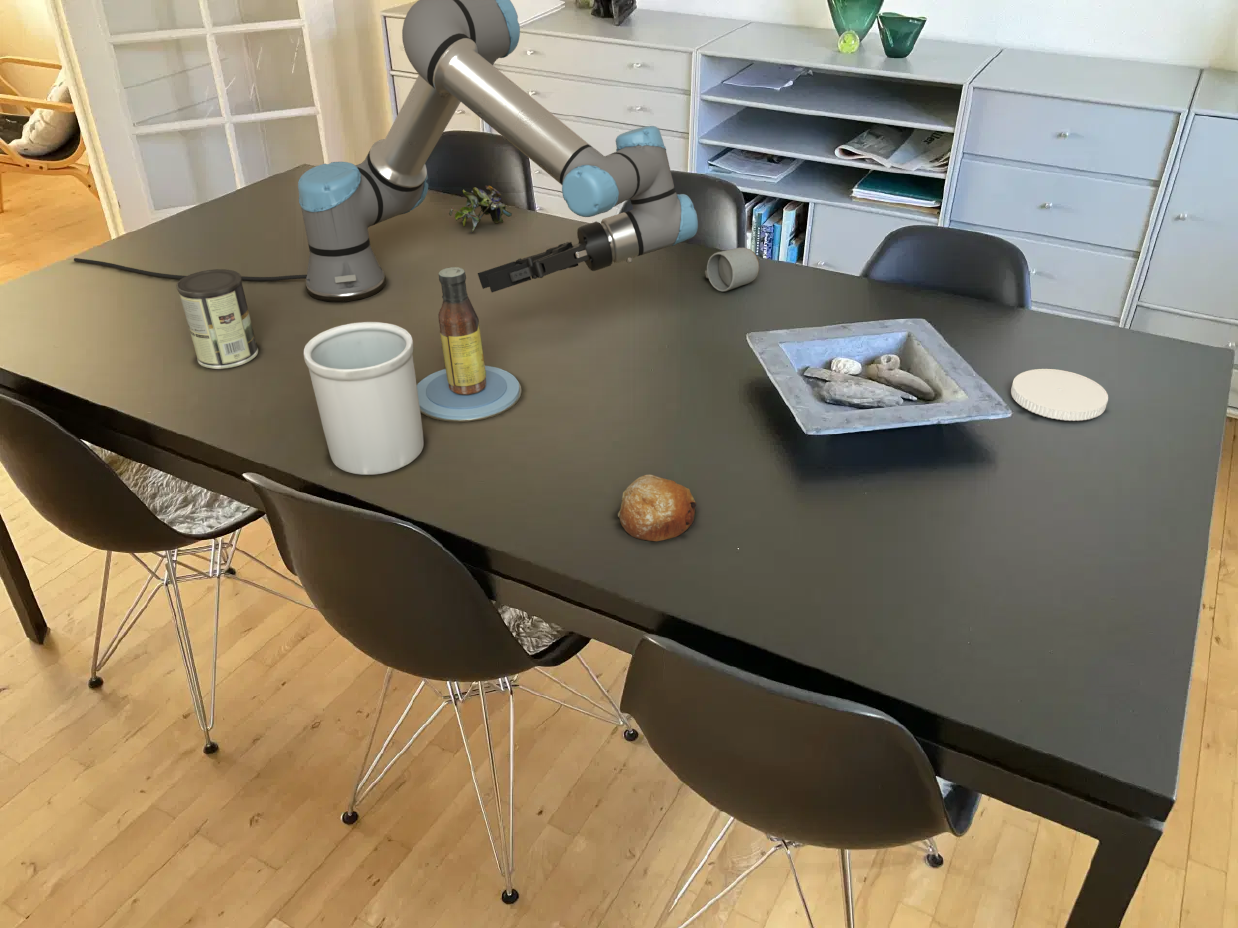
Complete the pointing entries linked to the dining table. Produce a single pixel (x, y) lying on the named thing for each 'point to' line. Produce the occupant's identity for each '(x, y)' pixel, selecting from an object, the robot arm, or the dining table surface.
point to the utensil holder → (367, 396)
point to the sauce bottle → (460, 335)
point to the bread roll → (656, 508)
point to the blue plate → (468, 397)
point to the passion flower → (486, 204)
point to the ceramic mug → (732, 268)
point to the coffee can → (218, 318)
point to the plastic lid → (1059, 394)
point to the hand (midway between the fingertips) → (484, 282)
